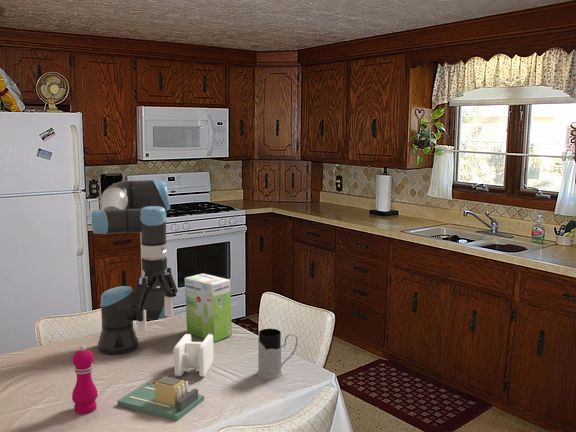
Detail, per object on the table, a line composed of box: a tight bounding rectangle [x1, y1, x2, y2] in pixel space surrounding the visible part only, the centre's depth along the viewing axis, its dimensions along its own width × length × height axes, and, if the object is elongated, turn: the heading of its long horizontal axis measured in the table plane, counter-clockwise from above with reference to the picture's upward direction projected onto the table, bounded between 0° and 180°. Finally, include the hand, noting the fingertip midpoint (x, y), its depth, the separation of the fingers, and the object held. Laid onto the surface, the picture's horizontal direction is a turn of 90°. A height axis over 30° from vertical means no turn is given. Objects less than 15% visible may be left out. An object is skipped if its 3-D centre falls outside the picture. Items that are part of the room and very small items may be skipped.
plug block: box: [154, 375, 185, 406], centre depth 168 cm, size 7×5×6 cm
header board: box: [117, 380, 205, 422], centre depth 170 cm, size 22×14×8 cm, turn 66°
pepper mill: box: [71, 345, 98, 415], centre depth 165 cm, size 7×7×20 cm
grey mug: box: [256, 328, 298, 380], centre depth 192 cm, size 9×14×15 cm, turn 104°
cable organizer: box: [172, 333, 214, 378], centre depth 193 cm, size 15×11×12 cm
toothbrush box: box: [184, 273, 233, 343], centre depth 228 cm, size 18×10×24 cm, turn 49°
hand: (156, 323), depth 173 cm, fingers open, 13 cm apart
